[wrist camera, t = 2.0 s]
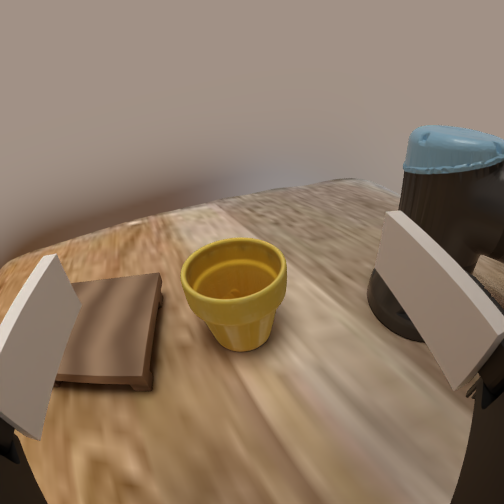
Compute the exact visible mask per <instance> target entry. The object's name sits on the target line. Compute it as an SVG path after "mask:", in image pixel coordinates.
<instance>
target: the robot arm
mask: <svg viewBox="0 0 504 504" xmlns="http://www.w3.org/2000/svg"><path fill="white" fill-rule="evenodd" d="M403 169H404V178H403V185H402V193H401V198H400V204H399V209H398V211H389V212H386V213H385V219H384V224H383V230H382V235H381V240H380V245H379V250H378V255H377V259H376V264H375V268H374V269H373V272H372V274H371V277H370V281H369V285H368V291H367V296H368V301H369V304H370V307H371V309H372V310H373V312H374V314H375V315H376V316H377V318H378V319H379V320H380V321H381V322H382V323H383V324H384V325H385V326H387V327H388V328H389V329H391V330H392V331H394V332H395V333H397V334H399V335H401V336H403V337H406V338H409V339H412V340H416V341H423V342H425V343H426V345H427V346H428V348H429V349H430V351H431V353H432V354H433V356H434V358H435V359H436V361H437V363H438V365H439V366H440V368H441V370H442V371H443V373H444V375H445V377H446V379H447V380H448V382H449V384H450V386H451V388H452V389H453V391H455V390H457V389H459V388H461V387H462V386H464V385H466V384H468V383H469V382H470V381H471V380H472V378H473V377H474V376H475V375H476V374H477V373H479V375H480V376H481V377H480V378H479V379H478V380H477V382H476V383H475V384H474V385H473V386H472V387H471V388H470V389H469V390H468V392H467V394H466V397H467V398H468V397H469V396H470V395H471V394H472V393H473V392H474V391H475V390H476V393H475V394H474V395H473V396H472V399H475V404H474V412H473V419H472V425H471V430H470V436H469V440H468V445H467V450H466V454H465V458H464V462H463V466H462V469H461V473H460V476H459V480H458V483H457V486H456V489H455V492H454V495H453V498H452V500H451V503H450V504H504V310H503V308H502V307H501V306H500V305H499V304H498V302H497V301H496V300H495V299H494V298H493V297H491V294H490V293H489V292H488V291H487V290H486V289H484V286H483V285H482V284H481V283H480V282H479V281H478V280H477V278H476V277H474V276H473V271H474V268H475V266H476V263H477V261H478V258H479V256H480V255H485V256H487V257H490V258H493V259H495V260H497V261H500V262H502V263H504V140H503V139H501V138H499V137H497V136H494V135H490V134H487V133H482V132H480V131H476V130H471V129H466V128H459V127H452V126H440V125H428V126H421V127H418V128H416V129H415V130H414V131H413V132H412V133H411V135H410V137H409V141H408V148H407V154H406V160H405V162H404V164H403ZM81 306H82V304H81V302H80V300H79V299H78V297H77V295H76V293H75V291H74V289H73V287H72V285H71V283H70V281H69V279H68V277H67V275H66V273H65V271H64V269H63V267H62V265H61V263H60V260H59V258H58V256H57V254H52V255H47V256H43V258H42V259H41V260H40V262H39V263H38V265H37V266H36V267H35V269H34V270H33V272H32V273H31V275H30V276H29V278H28V279H27V281H26V282H25V284H24V286H23V287H22V289H21V290H20V292H19V294H18V295H17V297H16V298H15V300H14V302H13V304H12V305H11V307H10V309H9V310H8V312H7V314H6V316H5V318H4V319H3V321H2V323H1V325H0V504H48V503H47V501H46V500H45V498H44V496H43V494H42V492H41V490H40V488H39V486H38V484H37V482H36V480H35V477H34V475H33V473H32V471H31V468H30V466H29V464H28V461H27V459H26V456H25V454H24V451H23V448H22V446H21V443H20V440H19V438H18V437H17V436H16V435H15V434H14V429H16V430H17V431H19V432H20V433H22V434H23V435H25V436H26V437H29V438H33V439H36V440H39V441H40V440H41V435H42V430H43V425H44V420H45V416H46V412H47V408H48V404H49V400H50V396H51V392H52V389H53V385H54V382H55V378H56V375H57V372H58V368H59V365H60V362H61V359H62V356H63V353H64V350H65V347H66V345H67V342H68V339H69V336H70V334H71V331H72V328H73V326H74V323H75V321H76V318H77V316H78V313H79V311H80V308H81Z"/></svg>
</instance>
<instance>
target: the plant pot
mask: <svg viewBox="0 0 504 504" xmlns="http://www.w3.org/2000/svg"><path fill="white" fill-rule="evenodd" d="M180 277H181V283H182V287H183V290H184V293H185V296H186V299H187V301H188V304H189V306H190V308H191V309H192V311H193V312H194V313H195V314H196V315H197V316H198V317H199V318H201V319H202V320H204V321H205V323H206V324H207V326H208V327H209V329H210V330H211V332H212V334H213V335H214V337H215V338H216V339H217V341H218V342H219V343H220V344H221V345H222V346H223V347H225V348H227V349H229V350H232V351H238V352H243V351H250V350H253V349H256V348H258V347H259V346H261V345H262V344H263V343H265V341H266V340H267V339H268V337H269V335H270V332H271V328H272V324H273V320H274V316H275V313H276V309H277V308H278V306H279V305H280V304H281V302H282V301H283V299H284V296H285V293H286V285H287V265H286V260H285V258H284V256H283V254H282V253H281V251H280V250H279V249H278V248H276V247H275V246H273V245H272V244H270V243H268V242H265V241H262V240H258V239H253V238H229V239H223V240H219V241H216V242H213V243H210V244H208V245H205V246H203V247H201V248H200V249H198V250H197V251H195V252H194V253H193V254H191V255H190V256H189V257H188V259H187V260H186V261H185V263H184V264H183V266H182V269H181V275H180Z"/></svg>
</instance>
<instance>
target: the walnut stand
mask: <svg viewBox="0 0 504 504" xmlns="http://www.w3.org/2000/svg"><path fill="white" fill-rule="evenodd" d="M71 285H72V287H73V289H74V291H75V293H76V295H77V297H78V299H79V300H80V302H81V304H82V306H81V308H80V311H79V313H78V316H77V318H76V321H75V323H74V326H73V328H72V331H71V334H70V336H69V339H68V342H67V345H66V347H65V350H64V353H63V356H62V359H61V362H60V365H59V368H58V372H57V375H56V378H55V382H54V385H53V386H57V387H59V386H60V382H61V381H67V382H80V383H98V384H130V386H131V387H132V388H133V389H134V390H135V391H152V383H153V375H152V373H151V372H150V370H149V368H150V359H151V351H152V344H153V336H154V329H155V322H156V316H157V310H158V307H162V301H163V296H162V293H161V286H162V279H161V276H160V273H152V274H144V275H136V276H128V277H120V278H112V279H103V280H95V281H87V282H78V283H71Z"/></svg>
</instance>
